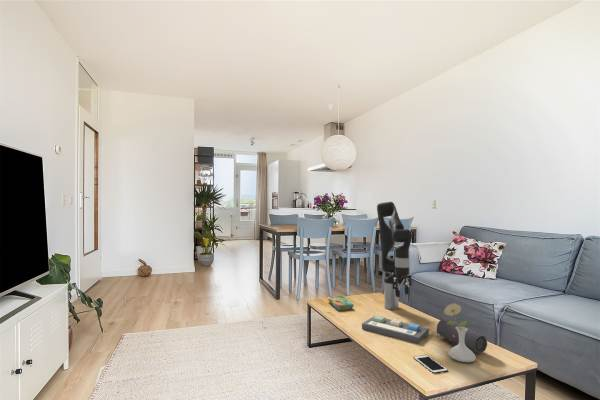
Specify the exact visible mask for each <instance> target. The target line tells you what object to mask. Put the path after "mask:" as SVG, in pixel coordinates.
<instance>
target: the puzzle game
mask: <svg viewBox="0 0 600 400" xmlns="http://www.w3.org/2000/svg"><path fill="white" fill-rule="evenodd" d="M326 299H327V301H329V304H330V305H332V306H333V307H334V308H335V309H336V310H337V311H346V310H352V309H353V307H354V305H355V304H354V303H353V302H351V301H350V300H349V299H348V298H346V297H344V296H343V295H341V296H339V295H338V296H328V297H327V298H326Z"/></svg>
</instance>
